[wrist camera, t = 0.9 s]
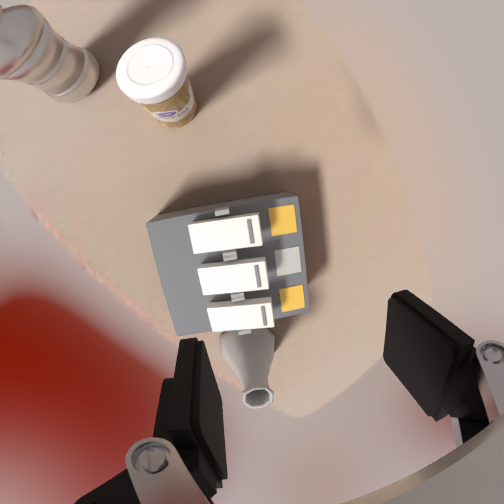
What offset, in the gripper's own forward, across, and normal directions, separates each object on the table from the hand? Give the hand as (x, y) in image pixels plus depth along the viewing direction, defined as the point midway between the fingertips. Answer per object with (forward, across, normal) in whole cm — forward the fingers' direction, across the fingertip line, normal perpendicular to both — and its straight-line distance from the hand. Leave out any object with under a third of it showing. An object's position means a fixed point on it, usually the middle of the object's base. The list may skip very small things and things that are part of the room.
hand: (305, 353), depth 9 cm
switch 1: (+16, +2, -1) cm, 17 cm away
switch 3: (+16, +2, +7) cm, 18 cm away
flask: (+23, +2, +15) cm, 27 cm away
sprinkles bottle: (+23, +5, -14) cm, 27 cm away
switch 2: (+16, +2, +3) cm, 17 cm away
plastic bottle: (+23, +16, -21) cm, 35 cm away
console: (+23, +2, +3) cm, 23 cm away
